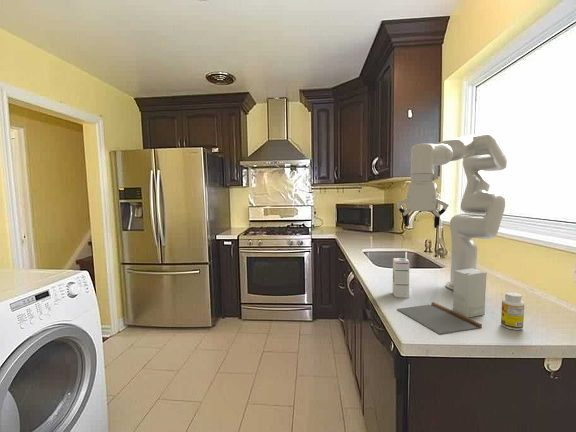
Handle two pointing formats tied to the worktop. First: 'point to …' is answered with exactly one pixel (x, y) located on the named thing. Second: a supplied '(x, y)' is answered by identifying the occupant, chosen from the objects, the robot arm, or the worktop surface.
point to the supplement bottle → (512, 311)
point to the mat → (436, 319)
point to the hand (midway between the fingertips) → (421, 226)
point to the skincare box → (469, 292)
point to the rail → (457, 315)
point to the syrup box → (401, 277)
